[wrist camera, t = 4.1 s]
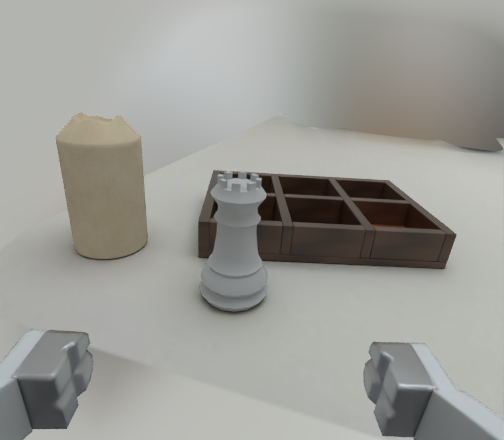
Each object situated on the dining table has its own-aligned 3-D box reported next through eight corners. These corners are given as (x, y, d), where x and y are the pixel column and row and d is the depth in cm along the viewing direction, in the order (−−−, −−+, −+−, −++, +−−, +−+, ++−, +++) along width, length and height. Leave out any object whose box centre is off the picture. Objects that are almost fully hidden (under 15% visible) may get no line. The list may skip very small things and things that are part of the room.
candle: (154, 228, 30) (147, 112, 26) (138, 261, 25) (126, 123, 21) (90, 226, 30) (73, 107, 26) (61, 259, 25) (34, 118, 21)
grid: (198, 257, 26) (198, 221, 25) (213, 196, 39) (213, 170, 37) (444, 268, 27) (457, 234, 26) (382, 205, 39) (389, 180, 38)
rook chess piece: (216, 268, 25) (218, 162, 22) (274, 282, 24) (286, 172, 21) (187, 304, 21) (185, 181, 18) (255, 323, 20) (266, 196, 17)
